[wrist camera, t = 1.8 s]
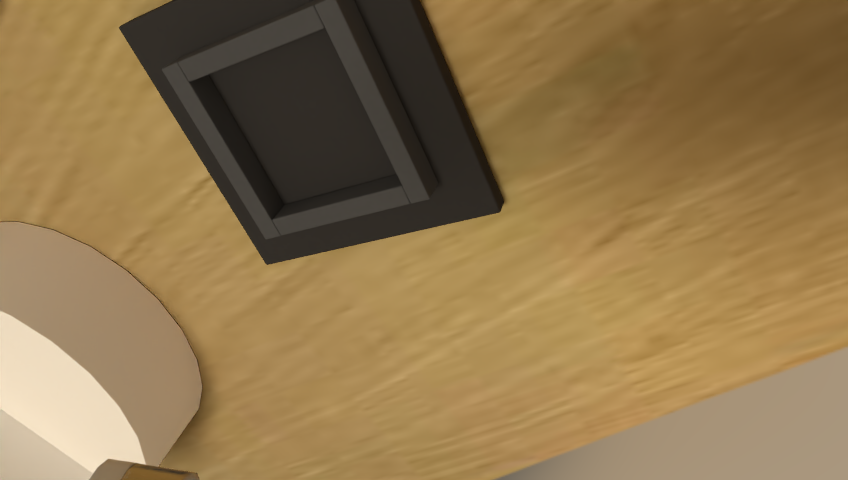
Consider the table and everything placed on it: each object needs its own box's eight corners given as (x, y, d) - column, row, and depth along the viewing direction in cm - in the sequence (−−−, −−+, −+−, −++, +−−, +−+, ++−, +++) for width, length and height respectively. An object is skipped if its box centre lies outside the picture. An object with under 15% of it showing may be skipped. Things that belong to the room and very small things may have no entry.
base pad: (379, -98, 28) (356, -85, 26) (504, 201, 34) (494, 230, 32) (130, 20, 34) (97, 38, 32) (274, 255, 40) (253, 282, 38)
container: (252, 368, 46) (128, 553, 36) (135, 469, 58) (17, 631, 48) (-12, 162, 42) (-237, 304, 32) (-80, 316, 54) (-260, 456, 44)
